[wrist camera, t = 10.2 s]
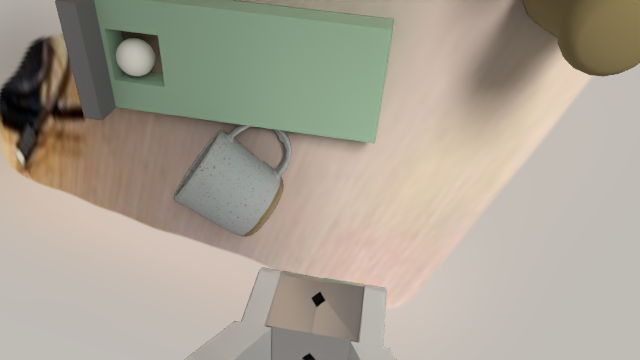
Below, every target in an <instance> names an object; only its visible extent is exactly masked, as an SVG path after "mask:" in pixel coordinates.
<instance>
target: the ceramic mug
mask: <svg viewBox="0 0 640 360" xmlns="http://www.w3.org/2000/svg"><path fill="white" fill-rule="evenodd" d="M250 127H254V126H247V125H239V126H238V127H237V128H235V129H234V130H233V131H232V132H231V133H230V134H227V133H226V132H224V131H222V130H221V131H219V132H217V133H216V134H215V136H214V137H213V138H212V139H211V140H210V141H209V143H208V144H207V145H206V147H205V148H204V149H203V151H202V152H201V153H200V155H199V156H198V158H197V159H196V160H195V162H194V163H193V165H192V166H191V167H190V169H189V170H188V172H187V174H186V175H185V177H184V178H183V180H182V182H181V183H180V185H179V187H178V189H177V190H176V193H175V194H174V200H175V201H177V202H178V203H180V204H182V205H184V206H186V207H188V208H189V209H191V210H193V211H195V212H196V213H198V214H200V215H202V216H203V217H205V218H207V219H209V220H210V221H212V222H214V223H216V224H218V225H219V226H221V227H223V228H224V229H226V230H228V231H230V232H232V233H235V234H237V235H240V236H250V235H252V234H254V233H255V232H257V231H258V230H259V229H260V228H261V227H262V225H263V224H264V223H265V222H266V221H267V219H268V218H269V217H270V215H271V214H272V212H273V211H274V209H275V207H276V206H277V204H278V202H279V200H280V198H281V195H282V192H283V186H284V185H283V180H282V178H281V177H280V175H281V174H282V173H283V172H284V170H285V169H286V167H287V165H288V164H289V160H290V157H291V144H290V140H289V138H288V136H287V134H286V132H285V131H282V130H275V129H272V130H273V131H274V132H275V133H276V134H277V135H278V137H279V140H280V141H281V142H282V143H283V144H284V146H285V148H286V154H285V156H284V159H283V161H282V163H281V165H280V166H279V167H278V169H276V170H274V169H273V168H272V167H270V166H269V165H268V164H267V163H265V162H263V161H262V160H260V159H259V158H258V157H256V156H255V155H254V154H253V153H251V152H250V151H249V150H248V149H247V148H245V147H244V146H243V145H241V143H239V142H238V141H236V140H235V139H234V137H235V136H236V135H237V134H239V133H241V132H242V131H244V130H246V129H247V128H250Z"/></svg>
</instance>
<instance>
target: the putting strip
mask: <svg viewBox="0 0 640 360" xmlns="http://www.w3.org/2000/svg"><path fill="white" fill-rule="evenodd" d="M55 3H56V7H57V11H58V15H59V19H60V23H61V27H62V31H63V35H64V39H65V43H66V47H67V51H68V55H69V59H70V63H71V67H72V71H73V75H74V78H75V82H76V86H77V90H78V94H79V98H80V102H81V106H82V110H83V114H84V118H89V119H96V120H103V119H104V118H105V117H106V116H107V115H108V114H109V113H110V112H111V111H112V110H114V109H115V108H116V107H118V108H125V109H132V110H139V111H146V112H154V113H161V114H168V115H175V116H182V117H189V118H196V119H204V120H211V121H218V122H225V123H232V124H239V125H247V126H254V127H261V128H268V129H275V130H282V131H289V132H297V133H304V134H311V135H318V136H325V137H332V138H339V139H347V140H354V141H361V142H368V143H375V139H376V133H377V126H378V120H379V114H380V107H381V101H382V94H383V88H384V81H385V75H386V69H387V62H388V56H389V49H390V43H391V36H392V30H393V22H394V19H388V18H379V17H370V16H362V15H353V14H345V13H336V12H327V11H319V10H310V9H302V8H293V7H284V6H276V5H267V4H259V3H250V2H241V1H233V0H56V1H55ZM121 31H128V32H136V33H144V34H152V35H158V40H159V48H160V55H161V63H162V70H163V74H161V73H153V72H149V73H147V74H145V75H142V76H132V75H129V74H127V73H125V72H124V71H123V70H122V69H121V68H120V67H119V65H118V63H117V61H116V50H117V48H118V46H119V45H120V44H121V43H122V42H123V37H122V32H121Z"/></svg>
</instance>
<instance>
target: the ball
mask: <svg viewBox="0 0 640 360" xmlns="http://www.w3.org/2000/svg"><path fill="white" fill-rule="evenodd" d="M116 61H117V63H118V65H119V67H120V68H121V69H122V70H123V71H124V72H125V73H127V74H129V75H132V76H142V75H145V74H147V73H149V72H150V71H151V70H152V68H153V67H154V64H155V54H154V51H153V49H152V47H151V46H150V45H149V44H148V43H147V42H145V41H143V40H141V39H138V38H130V39H127V40H124V41H123V42H122V43H121V44H120V45H119V46H118V48H117V50H116Z"/></svg>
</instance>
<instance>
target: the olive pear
mask: <svg viewBox="0 0 640 360" xmlns="http://www.w3.org/2000/svg"><path fill="white" fill-rule="evenodd" d="M523 4H524V7H525V9H526V12H527V14H528V15H529V16H530V17H531V18H532V19H533V20H534V21H535V22H536V23H537V24H538V25H540V26H541V27H543V28H544V29H545V30H547V31H548V32H550V33H551V34H553V35H554V36H555V37H557V38H558V45H559V47H560V50H561V52H562V55H563V57H564V58H565V60H566V61H567V62H568V63H569V64H570V65H571V66H572V67H573V68H575V69H577V70H580V71H582V72H584V73H586V74H589V75H596V76H608V75H614V74H619V73H621V72H623V71H626V70H628V69H631V68H633V67H634V66H636V65H637V64H639V63H640V0H523Z"/></svg>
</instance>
